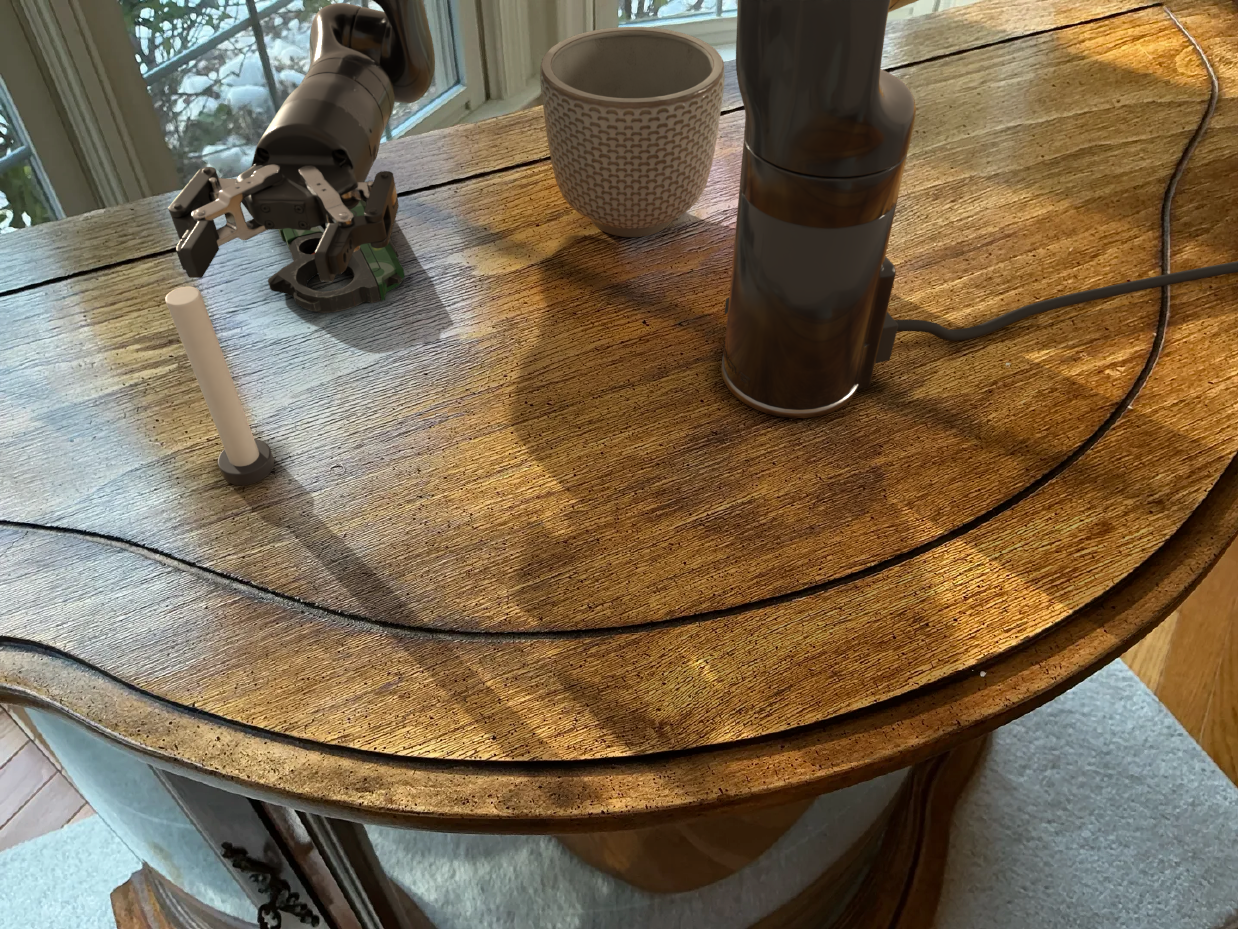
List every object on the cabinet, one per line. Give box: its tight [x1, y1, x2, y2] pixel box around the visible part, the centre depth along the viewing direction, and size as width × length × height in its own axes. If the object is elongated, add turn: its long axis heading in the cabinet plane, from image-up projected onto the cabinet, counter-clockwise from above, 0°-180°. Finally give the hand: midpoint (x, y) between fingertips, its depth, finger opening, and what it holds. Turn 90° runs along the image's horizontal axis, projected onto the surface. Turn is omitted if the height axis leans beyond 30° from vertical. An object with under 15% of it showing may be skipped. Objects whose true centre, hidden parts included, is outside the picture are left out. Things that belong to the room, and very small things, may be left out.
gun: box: [267, 200, 406, 313], centre depth 78 cm, size 16×1×10 cm
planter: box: [539, 26, 726, 238], centre depth 78 cm, size 14×14×13 cm
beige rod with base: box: [164, 286, 275, 486], centre depth 57 cm, size 3×3×13 cm
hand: (256, 268), depth 62 cm, fingers open, 8 cm apart
